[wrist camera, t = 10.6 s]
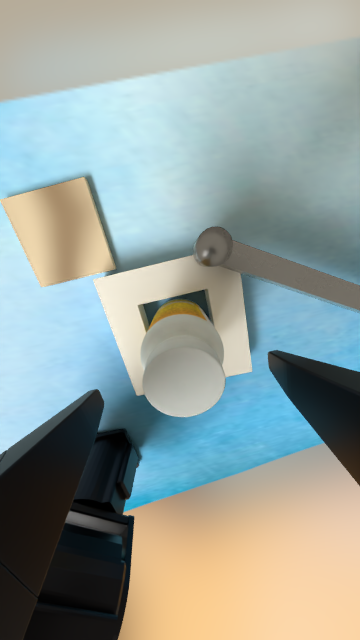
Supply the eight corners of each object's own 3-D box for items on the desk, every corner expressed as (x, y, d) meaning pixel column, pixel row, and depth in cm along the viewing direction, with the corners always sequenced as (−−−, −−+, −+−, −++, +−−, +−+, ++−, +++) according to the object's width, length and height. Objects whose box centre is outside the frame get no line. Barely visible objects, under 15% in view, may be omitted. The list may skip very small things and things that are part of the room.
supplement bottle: (216, 323, 17) (264, 385, 8) (179, 356, 18) (183, 445, 9) (180, 285, 16) (187, 307, 7) (142, 322, 17) (103, 386, 8)
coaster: (45, 286, 16) (41, 287, 15) (6, 202, 14) (-1, 199, 13) (116, 269, 15) (114, 269, 15) (87, 180, 13) (84, 176, 13)
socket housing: (140, 383, 19) (136, 395, 17) (103, 278, 15) (92, 279, 14) (244, 360, 18) (252, 371, 17) (229, 247, 15) (237, 244, 13)
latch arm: (188, 261, 13) (191, 260, 11) (198, 229, 12) (203, 221, 10) (386, 327, 15) (420, 336, 13) (403, 302, 15) (442, 308, 12)
